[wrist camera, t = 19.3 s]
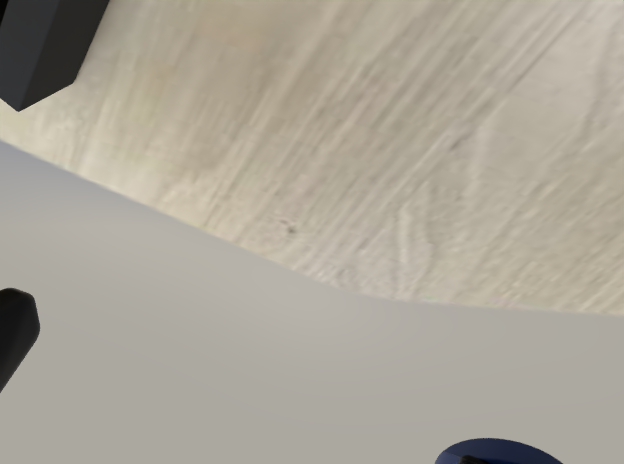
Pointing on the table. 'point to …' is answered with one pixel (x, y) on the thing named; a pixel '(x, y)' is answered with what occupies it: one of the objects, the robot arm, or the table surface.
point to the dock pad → (43, 46)
